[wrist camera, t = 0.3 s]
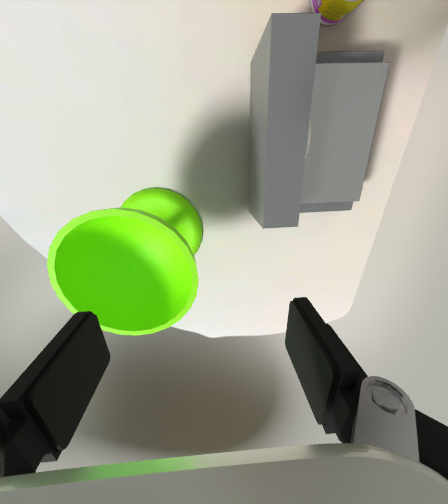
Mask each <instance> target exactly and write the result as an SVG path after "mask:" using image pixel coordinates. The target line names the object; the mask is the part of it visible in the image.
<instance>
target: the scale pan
mask: <svg viewBox="0 0 448 504" xmlns="http://www.w3.org/2000/svg"><path fill="white" fill-rule="evenodd" d="M389 63H390V62H388V63H325V64H316V65H315V75H314V84H313V93H312V102H311V111H310V122H311V141H310V145H309V150H308V153H307V156H306V159H305V166H304V175H303V185H302V194H301V203H300V204H308V203H329V202H349V201H359V200H360V195H361V191H362V186H363V181H364V177H365V172H366V168H367V163H368V159H369V154H370V149H371V145H372V140H373V136H374V131H375V127H376V122H377V117H378V113H379V108H380V104H381V99H382V95H383V90H384V85H385V81H386V76H387V72H388V67H389Z"/></svg>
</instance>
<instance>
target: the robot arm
mask: <svg viewBox="0 0 448 504" xmlns="http://www.w3.org/2000/svg"><path fill="white" fill-rule="evenodd" d="M285 345H286V349H287V351H288V354H289V356H290V359H291V361H292V364H293V366H294V368H295V371H296V373H297V375H298V378H299V380H300V383H301V385H302V388H303V390H304V392H305V395H306V397H307V400H308V402H309V404H310V407H311V409H312V412H313V414H314V416H315V419H316V421H317V423H318V424H322V425H323V428H324V430H325V433H326V434H331V433H336V435H337V437H338V439H339V440H340V441H341V442H342V443H340V444H338V443H336V444H315V445H302V446H289V447H277V448H267V449H257V450H246V451H237V452H225V453H216V454H205V455H195V456H186V457H176V458H166V459H156V460H148V461H137V462H128V463H118V464H109V465H99V466H91V467H81V468H72V469H62V470H54V471H46V472H38V473H36V469H37V467H38V465H39V464H40V462H51V461H57V459H58V457H59V455H60V454H61V452H62V450H64V449H65V448H66V447H67V446H68V444H69V443H70V441H71V439H72V437H73V435H74V432H75V431H76V428H77V426H78V424H79V422H80V420H81V418H82V416H83V414H84V412H85V410H86V408H87V406H88V404H89V402H90V400H91V398H92V396H93V394H94V392H95V390H96V388H97V386H98V384H99V382H100V380H101V378H102V376H103V374H104V371H105V370H106V368H107V366H108V364H109V361H110V353H109V350H108V347H107V344H106V341H105V338H104V335H103V333H102V329H101V327H100V324H99V321H98V318H97V315H96V314H93V312H92V311H84V312H76V313H75V314H74V315H73V316H72V318H71V319H70V320H69V321H68V322H67V323H66V324H65V326H64V327H63V328H62V329H61V330H60V331H59V332H58V333H57V335H56V336H55V337H54V338H53V339H52V340H51V341H50V343H49V344H48V345H47V346H46V347H45V348H44V349H43V351H42V352H41V353H40V354H39V355H38V356H37V357H36V359H35V360H34V361H33V362H32V363H31V364H30V365H29V367H28V368H27V369H26V370H25V371H24V372H23V373H22V375H21V376H20V377H19V378H18V379H17V380H16V381H15V383H14V384H13V385H12V386H11V387H10V388H9V389H8V391H7V392H6V393H5V394H4V395H3V396H2V397H1V399H0V504H448V427H447V426H445V425H444V424H442V423H440V422H438V421H436V420H434V419H432V418H430V417H429V416H427V415H425V414H423V413H421V412H419V411H418V410H416V409H414V406H413V403H412V401H411V400H410V398H409V396H408V395H407V394H406V393H405V392H404V391H403V390H402V389H401V388H400V387H398V386H397V385H396V384H394V383H392V382H391V381H389V380H387V379H384V378H381V377H376V376H371V377H368V376H367V375H366V373H365V372H364V371H363V369H362V368H361V366H360V365H359V364H358V363H357V361H356V360H355V358H354V357H353V356H352V354H351V353H350V352H349V350H348V349H347V348H346V346H345V345H344V344H343V342H342V341H341V340H340V338H339V337H338V336H337V334H336V333H335V331H334V330H333V329H332V327H331V326H330V325H328V324H326V323H325V322H324V321H323V319H322V318H321V316H320V315H319V314H318V312H317V311H316V309H315V308H314V307H313V305H312V304H311V303H310V301H309V300H308V299H307V298H306V297H301V298H294V299H293V301H290V305H289V314H288V322H287V330H286V339H285Z"/></svg>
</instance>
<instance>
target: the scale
mask: <svg viewBox="0 0 448 504" xmlns="http://www.w3.org/2000/svg"><path fill="white" fill-rule="evenodd" d="M320 20H321V13H272V14H271V16H270V19H269V21H268V23H267V26H266V28H265V30H264V33H263V35H262V37H261V40H260V42H259V44H258V47H257V49H256V51H255V54H254V56H253V59H252V61H251V92H250V172H249V212H250V213H251V214H252V216H253V217H254V218H255V219H256V221H257V222H258V223H259V224H260V225H261V227H262V228H280V227H298V221H299V213H304V212H324V211H343V210H351V209H352V204H353V201H349V202H329V203H308V204H300V203H301V194H302V185H303V175H304V166H305V159H306V156H307V153H308V150H309V145H310V141H311V122H310V111H311V102H312V93H313V84H314V75H315V65H316V64H325V63H382V60H383V55H384V51H337V52H317V47H318V38H319V29H320Z"/></svg>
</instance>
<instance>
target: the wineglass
mask: <svg viewBox="0 0 448 504" xmlns="http://www.w3.org/2000/svg"><path fill="white" fill-rule="evenodd" d="M202 232H203V231H202V225H201V220H200V218H199V216H198V214H197V211H196V210H195V209H194V207H193V206H192V205H191V204H190V202H189V201H187V200H186V199H185V198H183V197H182V196H181V195H179V194H177V193H175V192H172V191H170V190H167V189H160V188H151V189H143V190H141V191H139V192H136V193H134V194H133V195H131V196H130V197H129V198H128V199H127V200H125V202H124V203H123V205H122V206H121V207H120V208H112V209H104V210H97V211H91V212H88V213H86V214H84V215H81V216H79V217H77V218H74V219H72V220H71V221H70V222H69V223H68V224H66V225H65V226H64V227H63V228H62V229H61V230H60V231H58V233H57V235H56V236H55V238H54V240H53V242H52V244H51V246H50V247H49V254H48V261H47V268H48V273H49V278H50V282H51V284H52V286H53V288H54V290H55V292H56V294H57V296H58V297H59V299H60V300H61V301H62V302H63V303H64V304H65V306H66V307H67V308H68V309H69V310H70V311H71V312H72V313H73V314H75V313H76V312H84V311H92V312H93V314H96V315H97V318H98V321H99V324H100V327H101V329H102V330H104V331H108V332H112V333H116V334H122V335H143V334H151V333H155V332H158V331H160V330H163V329H166V328H168V327H170V326H171V325H173V324H174V323H176V322H177V321H179V320H180V319H181V318H182V317H183V316H184V315H185V314H186V313H187V312H188V310H189V309H190V308H191V306H192V304H193V302H194V299H195V297H196V295H197V288H198V274H197V268H196V263H195V257H194V254H195V253H196V252H197V251H198V248H199V246H200V244H201V240H202Z"/></svg>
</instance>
